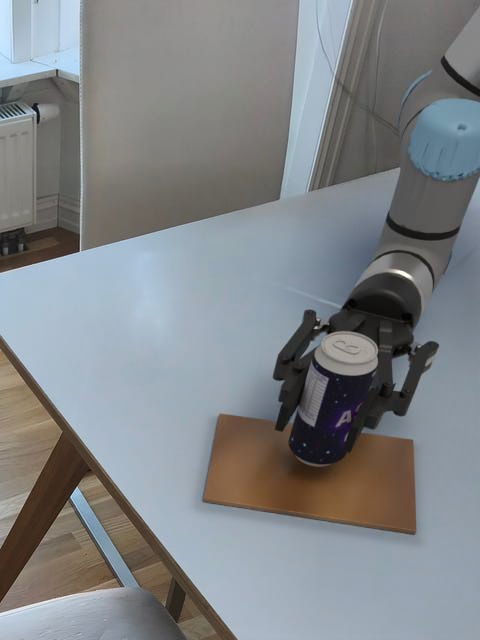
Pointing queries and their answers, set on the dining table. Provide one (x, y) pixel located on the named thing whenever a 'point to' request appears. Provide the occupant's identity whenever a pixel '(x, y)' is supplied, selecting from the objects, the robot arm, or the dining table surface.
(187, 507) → the dining table surface
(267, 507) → the copper plate
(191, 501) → the dining table surface
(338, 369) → the beverage can
